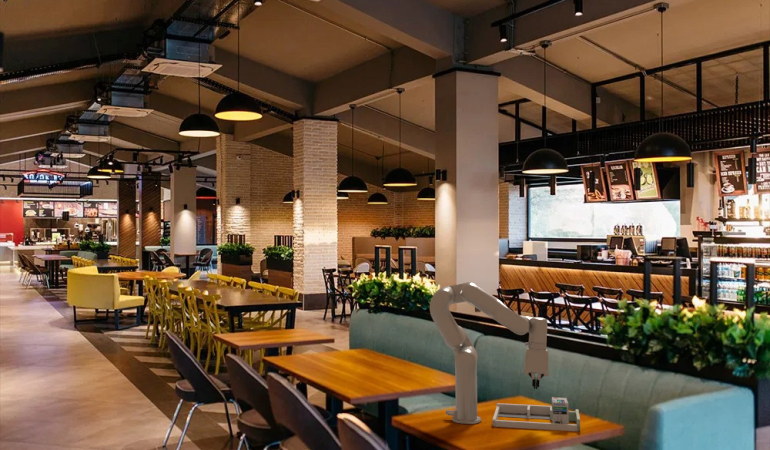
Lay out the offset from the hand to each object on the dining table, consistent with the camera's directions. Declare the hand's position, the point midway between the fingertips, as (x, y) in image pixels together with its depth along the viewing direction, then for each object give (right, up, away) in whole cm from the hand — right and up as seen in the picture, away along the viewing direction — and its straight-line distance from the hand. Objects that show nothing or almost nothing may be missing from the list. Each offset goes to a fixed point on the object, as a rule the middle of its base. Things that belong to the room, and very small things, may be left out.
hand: (535, 388), depth 296 cm
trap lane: (+1, -15, +4) cm, 16 cm away
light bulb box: (+10, -15, -3) cm, 19 cm away
